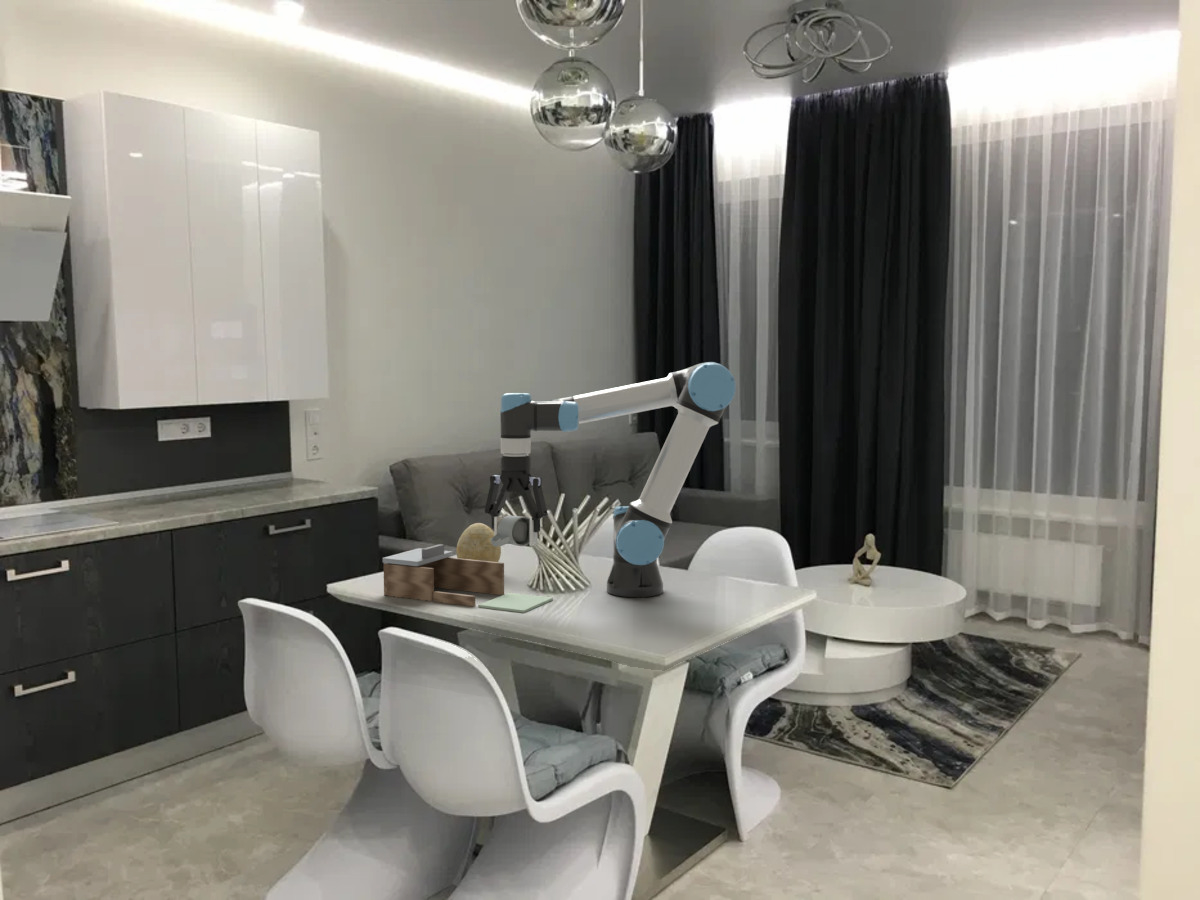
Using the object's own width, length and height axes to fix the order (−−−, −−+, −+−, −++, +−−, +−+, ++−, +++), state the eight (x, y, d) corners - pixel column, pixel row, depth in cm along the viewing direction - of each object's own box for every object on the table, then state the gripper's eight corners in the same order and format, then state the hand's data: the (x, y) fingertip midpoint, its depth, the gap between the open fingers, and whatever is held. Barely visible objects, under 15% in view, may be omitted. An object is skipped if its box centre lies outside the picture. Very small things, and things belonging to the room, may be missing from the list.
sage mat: (552, 600, 257) (552, 597, 257) (523, 612, 243) (523, 610, 243) (509, 594, 262) (509, 592, 262) (478, 607, 249) (478, 604, 249)
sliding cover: (452, 555, 270) (452, 542, 269) (417, 566, 255) (417, 552, 255) (419, 552, 274) (418, 539, 274) (382, 562, 260) (382, 548, 260)
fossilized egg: (462, 569, 295) (461, 519, 294) (504, 570, 294) (504, 520, 292) (451, 578, 282) (451, 526, 281) (496, 579, 281) (495, 527, 280)
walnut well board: (504, 594, 263) (504, 562, 262) (473, 606, 250) (473, 573, 249) (417, 584, 275) (417, 554, 274) (384, 595, 261) (383, 563, 261)
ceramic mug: (517, 540, 257) (517, 511, 256) (535, 544, 251) (535, 515, 250) (484, 545, 250) (483, 516, 250) (502, 549, 244) (501, 519, 244)
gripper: (562, 455, 248) (561, 544, 250) (485, 451, 258) (486, 537, 260) (547, 457, 242) (547, 549, 243) (469, 454, 251) (470, 542, 253)
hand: (515, 543), depth 252 cm, fingers closed on ceramic mug, 9 cm apart
